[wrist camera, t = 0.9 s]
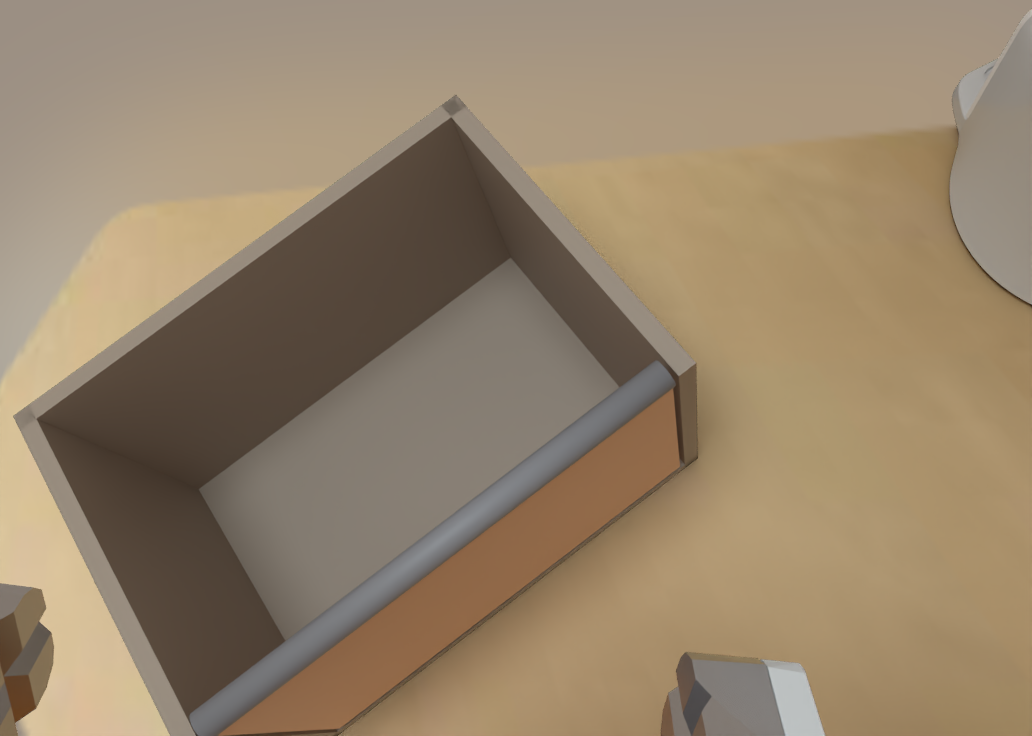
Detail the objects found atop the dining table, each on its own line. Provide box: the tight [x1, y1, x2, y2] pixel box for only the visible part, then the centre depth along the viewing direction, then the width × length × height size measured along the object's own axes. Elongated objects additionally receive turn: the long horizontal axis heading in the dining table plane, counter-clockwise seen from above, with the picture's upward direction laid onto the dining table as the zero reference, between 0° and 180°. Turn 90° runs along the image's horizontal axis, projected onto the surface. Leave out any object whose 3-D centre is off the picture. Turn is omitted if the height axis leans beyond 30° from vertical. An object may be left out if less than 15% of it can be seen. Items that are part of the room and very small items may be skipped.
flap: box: [190, 360, 680, 736], centre depth 39 cm, size 21×1×14 cm, turn 126°
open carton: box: [13, 95, 698, 736], centre depth 43 cm, size 23×16×14 cm
